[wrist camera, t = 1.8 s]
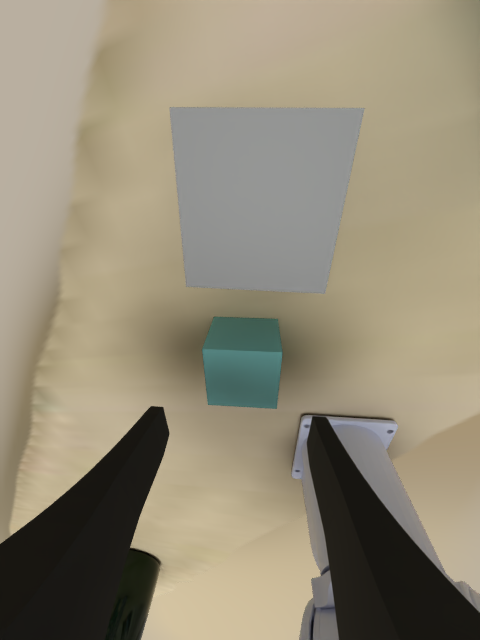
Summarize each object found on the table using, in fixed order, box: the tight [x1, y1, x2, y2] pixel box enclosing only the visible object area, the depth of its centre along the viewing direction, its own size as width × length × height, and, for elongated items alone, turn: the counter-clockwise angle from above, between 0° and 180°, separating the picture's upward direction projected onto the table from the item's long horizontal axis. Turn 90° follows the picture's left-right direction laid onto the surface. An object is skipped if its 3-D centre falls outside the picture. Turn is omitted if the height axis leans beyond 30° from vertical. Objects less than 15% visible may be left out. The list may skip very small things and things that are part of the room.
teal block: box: [202, 317, 282, 409], centre depth 16 cm, size 4×4×4 cm
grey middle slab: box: [170, 107, 364, 294], centre depth 11 cm, size 7×7×2 cm
